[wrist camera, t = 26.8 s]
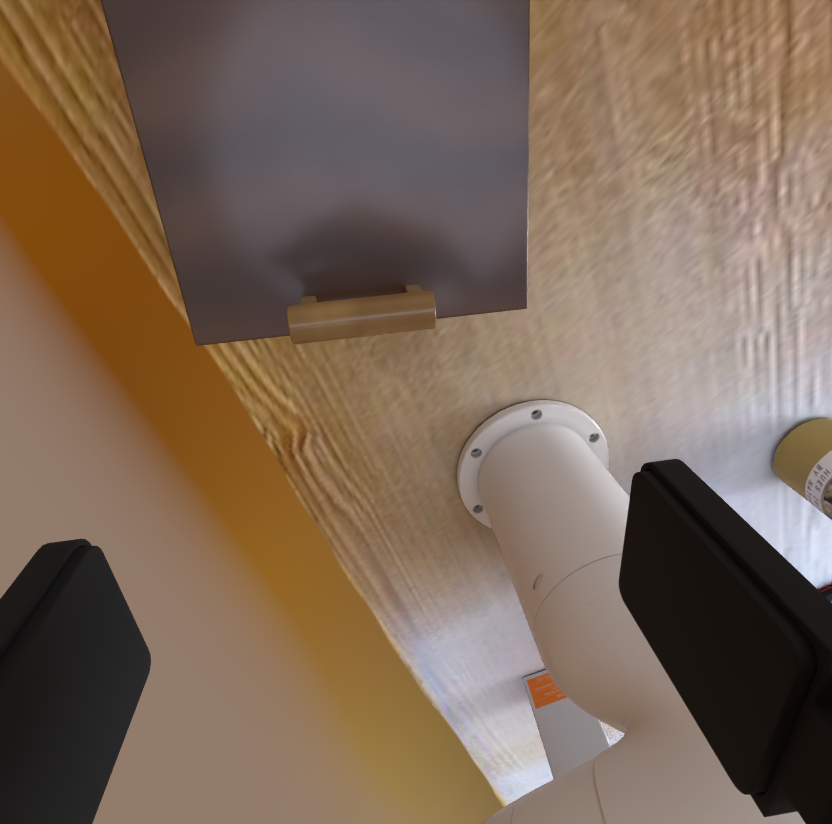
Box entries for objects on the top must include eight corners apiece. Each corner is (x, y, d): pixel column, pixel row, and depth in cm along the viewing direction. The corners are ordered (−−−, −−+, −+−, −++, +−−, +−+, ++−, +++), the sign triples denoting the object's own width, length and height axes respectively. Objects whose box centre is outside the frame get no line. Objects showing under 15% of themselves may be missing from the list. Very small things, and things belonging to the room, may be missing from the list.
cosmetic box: (573, 656, 55) (626, 777, 45) (582, 679, 57) (635, 800, 47) (519, 676, 56) (559, 800, 45) (531, 698, 58) (571, 822, 47)
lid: (523, 305, 27) (560, 334, 22) (199, 341, 26) (165, 380, 21) (524, -83, 21) (578, -161, 16) (91, -55, 20) (5, -130, 15)
